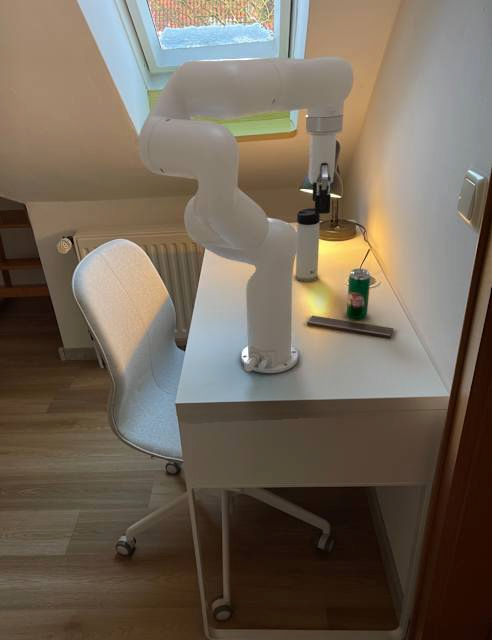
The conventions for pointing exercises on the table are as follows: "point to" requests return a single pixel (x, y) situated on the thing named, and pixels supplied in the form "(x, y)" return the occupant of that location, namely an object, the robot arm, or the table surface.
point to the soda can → (358, 294)
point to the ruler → (350, 327)
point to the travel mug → (307, 245)
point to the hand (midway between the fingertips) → (320, 206)
